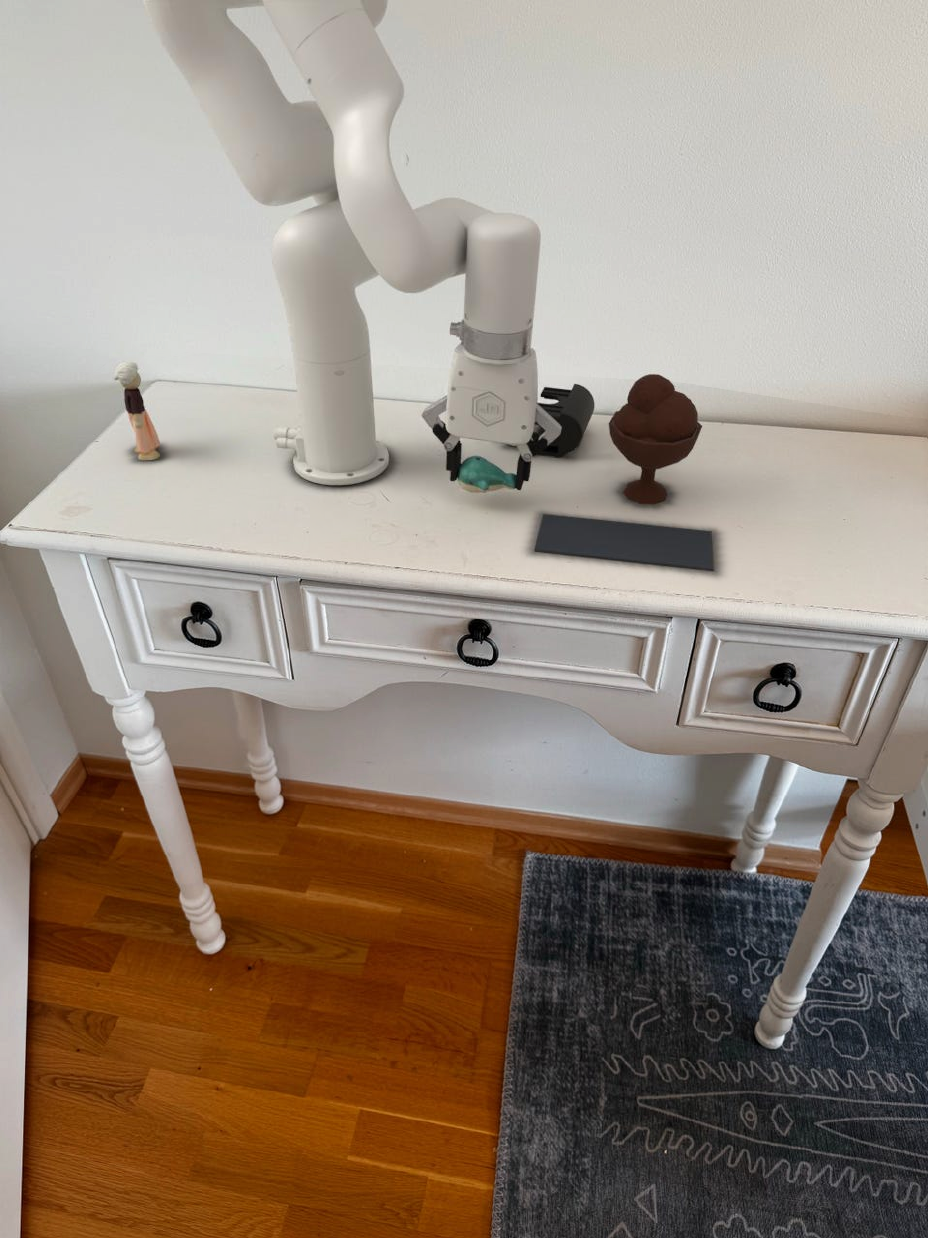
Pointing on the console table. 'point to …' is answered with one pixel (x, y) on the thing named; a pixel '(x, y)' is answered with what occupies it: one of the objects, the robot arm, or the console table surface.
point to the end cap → (567, 418)
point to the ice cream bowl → (654, 433)
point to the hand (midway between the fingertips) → (487, 479)
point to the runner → (626, 542)
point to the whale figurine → (483, 476)
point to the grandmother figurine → (137, 411)
